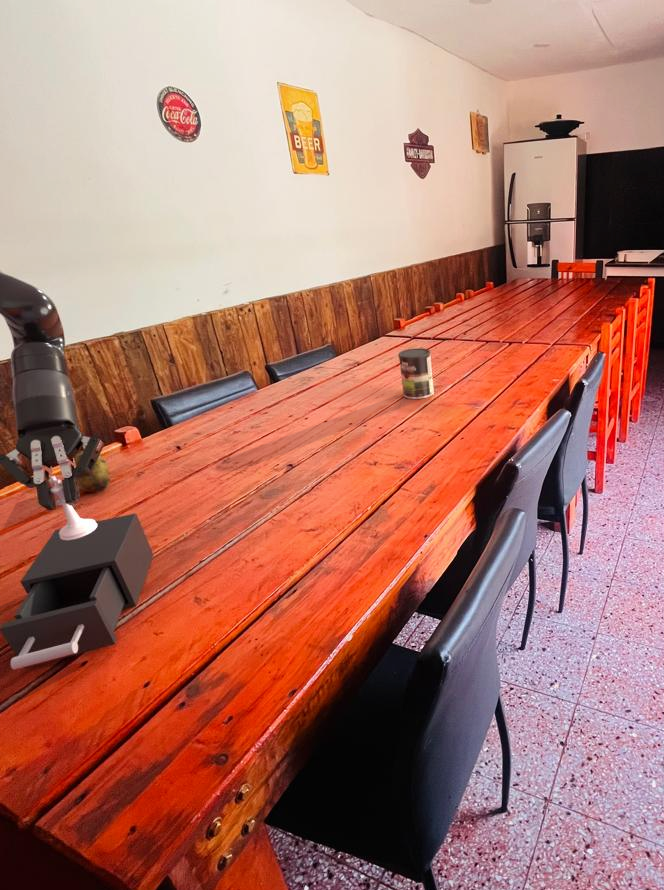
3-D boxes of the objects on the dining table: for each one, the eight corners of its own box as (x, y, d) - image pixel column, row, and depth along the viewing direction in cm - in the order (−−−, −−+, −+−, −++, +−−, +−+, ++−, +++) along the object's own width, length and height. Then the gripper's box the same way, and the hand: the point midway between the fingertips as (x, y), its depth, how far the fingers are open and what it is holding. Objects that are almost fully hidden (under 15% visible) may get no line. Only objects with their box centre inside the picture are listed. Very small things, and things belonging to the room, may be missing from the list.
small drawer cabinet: (136, 605, 85) (115, 560, 81) (47, 628, 81) (19, 581, 77) (153, 555, 97) (136, 513, 93) (77, 572, 94) (55, 529, 89)
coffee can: (420, 401, 163) (415, 358, 157) (397, 396, 169) (391, 354, 163) (440, 391, 171) (436, 350, 165) (417, 386, 176) (412, 346, 170)
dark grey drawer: (105, 671, 72) (83, 630, 68) (8, 698, 69) (-20, 657, 65) (135, 587, 88) (119, 551, 84) (58, 606, 85) (37, 569, 81)
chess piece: (79, 520, 84) (54, 467, 79) (105, 523, 83) (80, 469, 78) (52, 539, 79) (23, 483, 75) (78, 541, 78) (50, 485, 74)
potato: (70, 502, 117) (56, 472, 113) (79, 479, 127) (66, 450, 124) (113, 492, 120) (100, 462, 117) (118, 470, 131) (106, 442, 127)
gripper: (105, 406, 87) (122, 500, 83) (4, 424, 82) (16, 525, 77) (87, 385, 80) (105, 486, 76) (-24, 403, 75) (-12, 513, 71)
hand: (60, 505), depth 77 cm, fingers closed on chess piece
